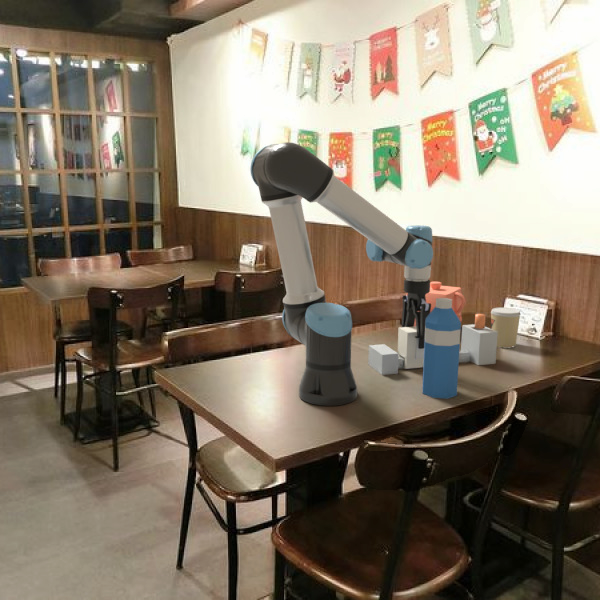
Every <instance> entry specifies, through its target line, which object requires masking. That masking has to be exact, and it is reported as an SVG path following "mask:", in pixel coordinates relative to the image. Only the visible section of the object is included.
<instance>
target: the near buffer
mask: <svg viewBox="0 0 600 600" xmlns="http://www.w3.org/2000/svg"><path fill="white" fill-rule="evenodd" d="M367 359H368V360H367V361H368V362H367V363H368V366H370V367H371V368H372V369H374V370H375V371H376V372H377V373H378V374H379V375H382V376H386V375H393V374H398V373H399V369H398V351H395V350H394V349H392V348H391V347H389V346H388V345H386V344H385V343H383V344H369V345H368V358H367Z"/></svg>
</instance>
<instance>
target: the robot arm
mask: <svg viewBox="0 0 600 600" xmlns="http://www.w3.org/2000/svg"><path fill="white" fill-rule="evenodd" d="M249 168H250V176H251V179H252V180H253V182H254V184H255V185H256V187H258V190H259V191H258V192H259V195H260V200H261V203H262V204H264V205H266V206H267V207H268V211H269V214H270V219H271V224H272V229H273V234H274V238H275V243H276V248H277V252H278V257H279V263H280V267H281V271H282V277H283V280H284V287H285V291H286V293H285V296H284V297H283V298H282V303H283V308H284V309H283V310H282V314H281V315H282V316H281V319H282V320H281V321H282V325H283V327H284V328H285V330H286V332H287V333H288V335H289V336H290V337H292V339H295V340H297V341H298V342H299V343H301V344H302V345H303V346H305V368H304V371H303V372H302V373H303V374H302V377H301V379H300V383H299V386H298V396H299V398H300V399H301V400H302V401H303V402H306V403H308V404H311V405H317V406H324V407H325V406H326V407H331V406H332V407H333V406H342V405H347V404H349V403H352V402H354V401H355V400H356V399H357V398H358V386H357V384H356V379H355V376H354V374H353V370H352V336H353V335H352V333H353V332H352V330H353V319H352V313H351V311H350V310H349V309H348V308H347V307H345V306H343V305H341V304H336V303H332V302H327V299H326V295H325V294H326V293H325V291H324V290H323V289H321V288H320V287H318V282H317V277H316V273H315V272H316V271H315V267H314V261H313V256H312V252H311V246H310V240H309V235H308V230H307V226H306V220H305V219H306V218H305V215H304V209H303V205H302V199H304V200H306V201H307V202H309V203H310V204H311V203H317V204H318V205H320V206H321V207H323V208H324V209H326V211H328V212H329V213H330V214H332V215H334V216H335V217H337V218H338V219H339V220H341V221H342V222H344V223H345V224H347V225H348V226H349V227H351V228H352V229H354V231H356V232H357V233H359V234H361V235H362V236H364V237H365V238H366V239H367V241H366V244H365V250H366V255H367V257H368V259H369V260H370V261H372V262H379V263H381V262H388V263H394V264H397V265H401V266H404V270H403V272H404V273H403V274H404V275H403V276H404V278H405V279H404V280H403V291H404V293H406V294H407V293H408V295H405V294H404V295H402V312H401V327H413V326H414V322H415V319H416V329H417V336H415V338H416V339H415V359H423V358H424V343H425V320H426V317H427V316H428V315H429V314H430V309H431V304H430V303H426V298H425V295H426V294H427V293H429V292H430V282H431V280H429V279H430V278H431V271H432V261H433V258H434V249H433V229H432V227H431V226H429V225H428V226H427V225H408V226H406V228H403V227H402V226H400V225H399V224H398V223H397V222H396V221H394V220H393V219H392V218H390V217H389V216H388V215H386V214H385V213H383V211H381V210H380V209H379V208H377V207H375V206H374V205H373V204H372V203H371V202H370V201H368V199H367V200H366V199H365V198H364V197H362V196H361V195H360V194H359V193H357V192H356V191H355V190H353V188H351V187H349V186H348V185H347V184H346V183H344V181H341V179H339V178H338V177H336V176H335V171H334V169H333V168H332V167H330V165H328V164H327V163H325V162H324V161H323V160H322V159H320V158H319V157H317V155H315V154H314V153H312V152H311V151H310V150H308V149H307V148H305V147H304V146H302V145H300V144H297V143H295V142H290V141H289V142H282V143H274V144H273V143H271V144H269V145H265V146H264V147H263V148H260V149H259V150H258V151H257V152H256V153H255V154H254V156H253V158H252V160H251V162H250V167H249ZM417 311H420V312H417Z"/></svg>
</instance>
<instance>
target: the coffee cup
mask: <svg viewBox="0 0 600 600" xmlns="http://www.w3.org/2000/svg"><path fill="white" fill-rule="evenodd" d="M520 311H521V310H519V309H516V308H513V307H494V308H492V309H491V311H490V314H491V316H490V317H491V318H490V319H491V320H490V324H491V325H490V326H491V327H490V329H492V330H495V331H497V332H498V335H497V346H500V347H512V346H515V347H516V345H517V344H516V343H517V338H518V333H519V332H518V331H519V325H520V317H521V312H520ZM500 347H499V348H500Z"/></svg>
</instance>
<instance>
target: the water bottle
mask: <svg viewBox="0 0 600 600" xmlns="http://www.w3.org/2000/svg"><path fill="white" fill-rule="evenodd" d="M461 331H462V321H461V322H460V320H459V318H458V316H457V315H456V313H455V312H454V310H453V309H452V299H448V298H438V299H436V306H435V308H434V309H433V310H432V311H431V312H430V314H429V315H428V316H427V317H426V320H425V343H424V365H423V367H422V368H423V371H422V395H426V396H428V397H430V398H433V399H434V398H435V399H450V398H453V397H456V396H458V381H459V379H458V378H459V351H460V349H461Z"/></svg>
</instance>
